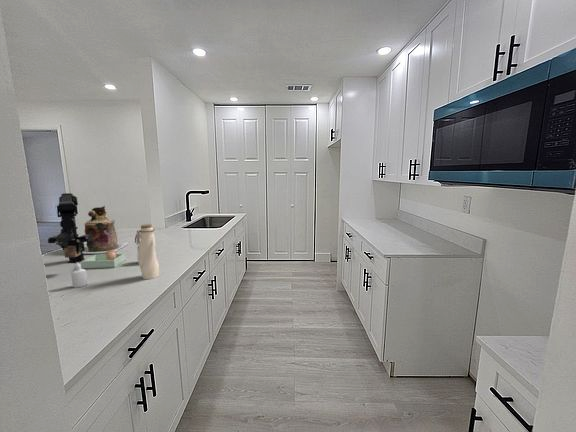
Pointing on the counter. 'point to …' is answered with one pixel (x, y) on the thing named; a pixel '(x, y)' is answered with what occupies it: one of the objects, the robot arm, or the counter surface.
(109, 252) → the egg
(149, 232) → the water bottle
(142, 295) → the counter surface
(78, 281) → the eye dropper bottle
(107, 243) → the cookie jar
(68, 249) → the walnut cube
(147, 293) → the counter surface
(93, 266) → the box
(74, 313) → the counter surface
